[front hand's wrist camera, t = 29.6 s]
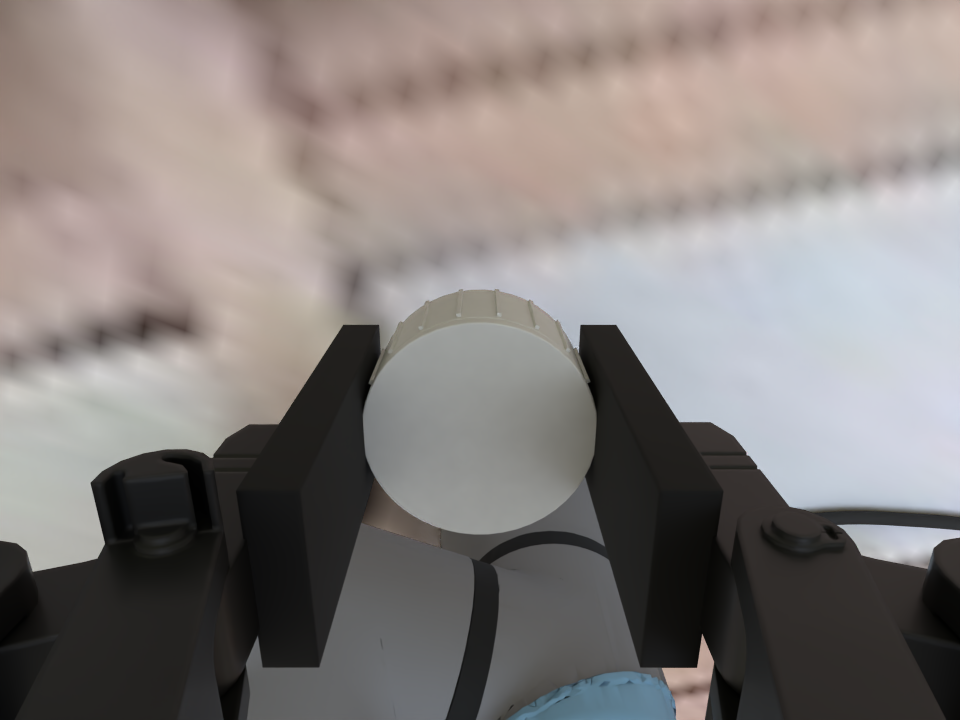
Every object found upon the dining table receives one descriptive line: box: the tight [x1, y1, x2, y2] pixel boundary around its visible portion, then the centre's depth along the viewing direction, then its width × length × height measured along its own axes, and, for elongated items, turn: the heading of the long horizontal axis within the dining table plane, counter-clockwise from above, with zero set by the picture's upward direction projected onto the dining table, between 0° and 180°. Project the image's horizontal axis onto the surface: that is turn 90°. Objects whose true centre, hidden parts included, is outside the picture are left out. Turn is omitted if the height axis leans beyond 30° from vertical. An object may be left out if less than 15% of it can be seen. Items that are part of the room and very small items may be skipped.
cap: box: [363, 289, 597, 534], centre depth 13 cm, size 4×4×2 cm
